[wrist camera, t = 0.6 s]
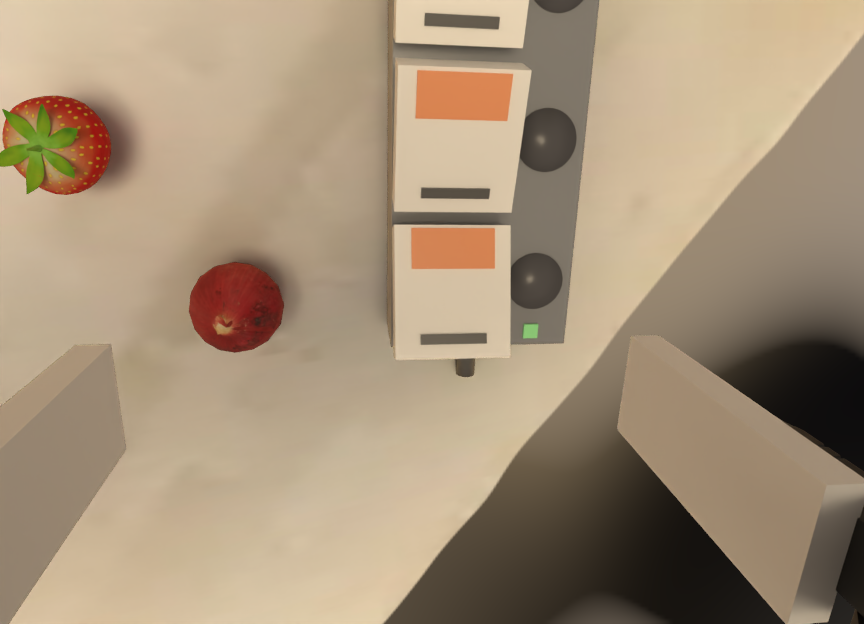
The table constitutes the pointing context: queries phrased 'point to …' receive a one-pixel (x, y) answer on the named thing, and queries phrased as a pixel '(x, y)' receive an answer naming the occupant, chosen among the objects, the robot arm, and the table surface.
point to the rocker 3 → (451, 291)
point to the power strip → (525, 163)
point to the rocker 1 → (461, 22)
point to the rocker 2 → (457, 134)
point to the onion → (236, 307)
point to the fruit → (55, 144)
